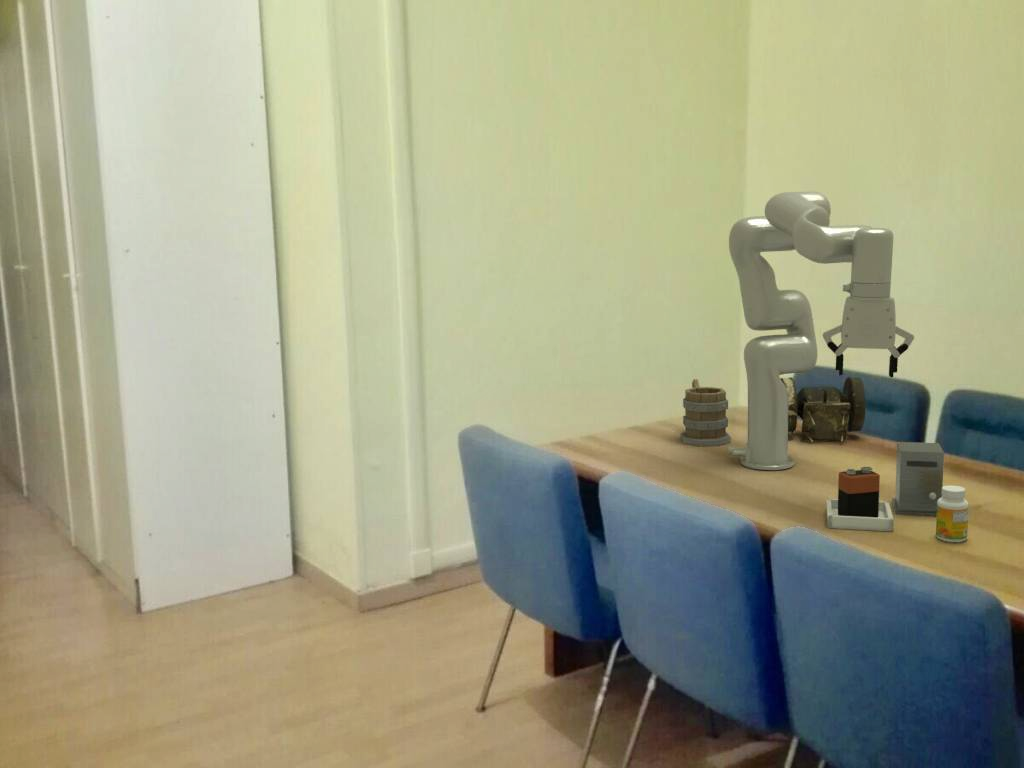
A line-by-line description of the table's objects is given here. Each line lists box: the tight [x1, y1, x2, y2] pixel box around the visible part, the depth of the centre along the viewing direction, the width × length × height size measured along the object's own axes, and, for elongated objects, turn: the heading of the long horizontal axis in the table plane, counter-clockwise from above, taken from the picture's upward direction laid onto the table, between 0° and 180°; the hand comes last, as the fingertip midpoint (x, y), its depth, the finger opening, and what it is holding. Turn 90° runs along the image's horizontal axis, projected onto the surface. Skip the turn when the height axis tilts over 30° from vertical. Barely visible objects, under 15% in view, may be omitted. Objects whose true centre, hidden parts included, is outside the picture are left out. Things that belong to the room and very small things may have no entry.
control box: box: [891, 441, 945, 517], centre depth 201 cm, size 9×9×13 cm
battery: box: [837, 466, 881, 518], centre depth 195 cm, size 4×7×10 cm, turn 101°
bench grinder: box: [780, 376, 867, 443], centre depth 263 cm, size 20×22×20 cm
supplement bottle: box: [935, 485, 970, 543], centre depth 183 cm, size 5×5×10 cm
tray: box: [825, 498, 895, 532], centre depth 196 cm, size 12×12×2 cm
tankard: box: [680, 378, 732, 447], centre depth 268 cm, size 20×13×15 cm, turn 179°
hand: (865, 375), depth 199 cm, fingers open, 9 cm apart
